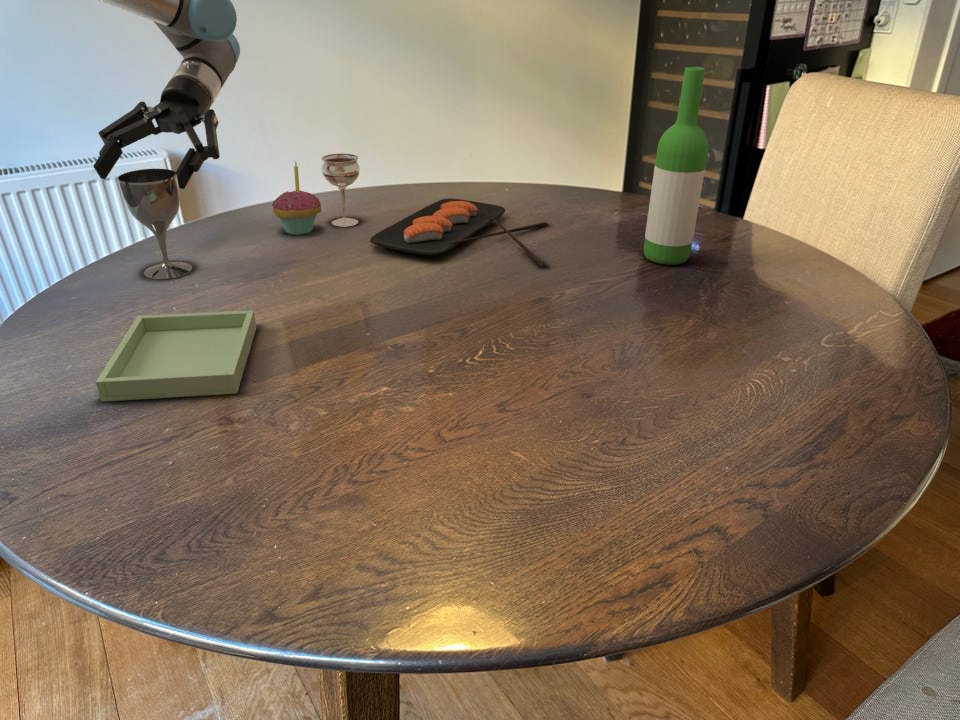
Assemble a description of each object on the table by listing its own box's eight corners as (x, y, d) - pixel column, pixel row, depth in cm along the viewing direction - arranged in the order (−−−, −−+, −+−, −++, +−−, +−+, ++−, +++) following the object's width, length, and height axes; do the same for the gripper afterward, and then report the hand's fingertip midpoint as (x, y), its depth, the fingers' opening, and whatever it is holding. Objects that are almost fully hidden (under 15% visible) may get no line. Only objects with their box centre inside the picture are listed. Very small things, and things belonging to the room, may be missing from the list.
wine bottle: (639, 263, 116) (665, 69, 101) (645, 247, 123) (670, 63, 108) (687, 269, 114) (721, 72, 99) (690, 253, 121) (723, 66, 106)
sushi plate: (445, 205, 142) (444, 187, 140) (586, 229, 131) (588, 209, 129) (363, 251, 119) (361, 229, 117) (526, 284, 108) (527, 261, 106)
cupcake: (283, 222, 131) (275, 157, 125) (328, 223, 131) (322, 158, 125) (269, 238, 124) (260, 170, 118) (317, 239, 124) (310, 171, 118)
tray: (101, 401, 78) (95, 382, 77) (142, 333, 92) (137, 315, 91) (237, 393, 80) (233, 374, 78) (256, 327, 94) (253, 310, 93)
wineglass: (339, 230, 128) (333, 164, 122) (319, 221, 132) (313, 157, 126) (370, 223, 132) (366, 158, 126) (350, 214, 136) (345, 151, 130)
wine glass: (205, 268, 112) (187, 174, 104) (161, 284, 106) (139, 186, 98) (174, 257, 115) (154, 165, 108) (130, 272, 109) (106, 176, 102)
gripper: (114, 67, 121) (54, 150, 110) (252, 82, 118) (204, 168, 107) (133, 104, 127) (78, 186, 116) (264, 118, 125) (220, 203, 114)
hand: (138, 177), depth 112 cm, fingers open, 13 cm apart
